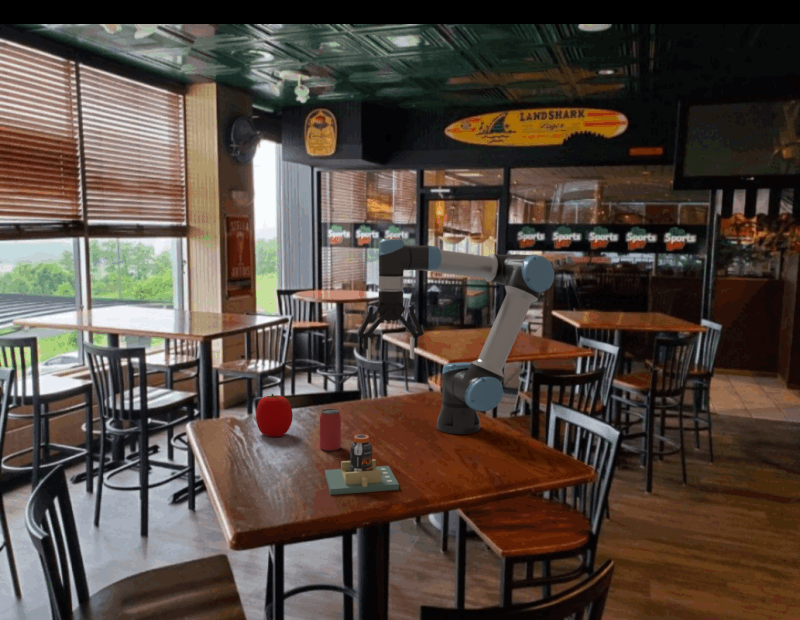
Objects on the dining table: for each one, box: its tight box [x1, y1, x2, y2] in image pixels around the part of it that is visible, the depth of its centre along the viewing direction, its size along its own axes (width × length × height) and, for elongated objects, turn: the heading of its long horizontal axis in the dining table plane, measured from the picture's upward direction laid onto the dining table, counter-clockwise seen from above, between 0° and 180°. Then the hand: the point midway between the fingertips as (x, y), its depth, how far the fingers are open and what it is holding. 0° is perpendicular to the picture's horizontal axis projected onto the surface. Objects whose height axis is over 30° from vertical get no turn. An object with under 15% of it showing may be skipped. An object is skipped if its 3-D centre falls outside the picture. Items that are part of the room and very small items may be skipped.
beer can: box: [319, 408, 342, 452], centre depth 202 cm, size 7×7×12 cm
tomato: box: [255, 393, 294, 438], centre depth 215 cm, size 13×11×14 cm
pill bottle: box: [349, 434, 373, 472], centre depth 174 cm, size 6×6×11 cm
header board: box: [324, 458, 400, 496], centre depth 175 cm, size 18×14×4 cm
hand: (390, 359), depth 199 cm, fingers open, 13 cm apart
